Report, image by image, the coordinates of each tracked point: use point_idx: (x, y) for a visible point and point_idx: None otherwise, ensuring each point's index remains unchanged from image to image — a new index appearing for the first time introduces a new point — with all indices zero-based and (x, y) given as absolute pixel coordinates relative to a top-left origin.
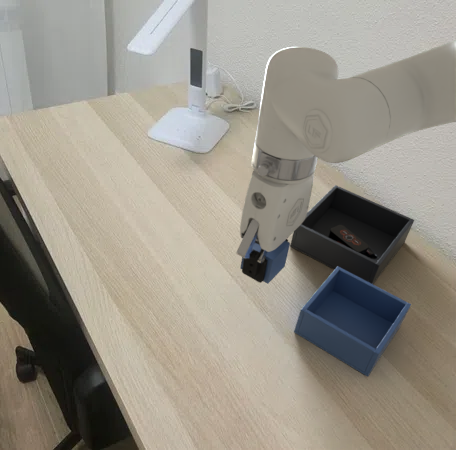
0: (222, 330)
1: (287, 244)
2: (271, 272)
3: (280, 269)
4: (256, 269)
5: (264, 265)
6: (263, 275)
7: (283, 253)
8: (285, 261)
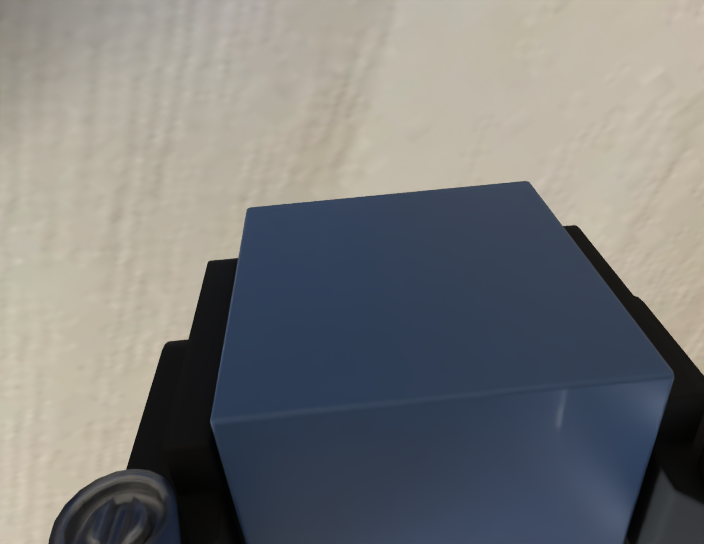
0: (586, 153)
1: (269, 425)
2: (554, 244)
3: (331, 210)
4: (686, 358)
5: (676, 358)
6: (602, 265)
7: (365, 345)
8: (254, 241)
